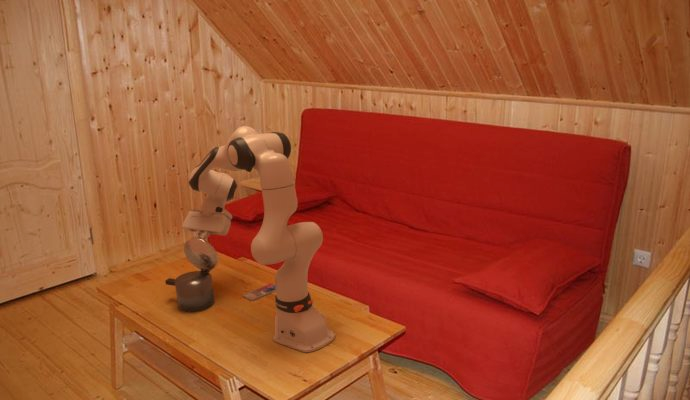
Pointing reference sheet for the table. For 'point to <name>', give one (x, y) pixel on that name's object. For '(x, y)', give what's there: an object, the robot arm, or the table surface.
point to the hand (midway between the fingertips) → (199, 242)
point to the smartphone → (260, 292)
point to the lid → (201, 254)
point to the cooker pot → (193, 291)
